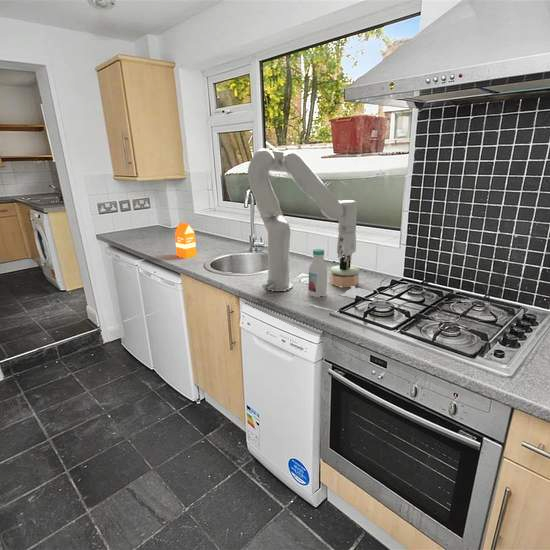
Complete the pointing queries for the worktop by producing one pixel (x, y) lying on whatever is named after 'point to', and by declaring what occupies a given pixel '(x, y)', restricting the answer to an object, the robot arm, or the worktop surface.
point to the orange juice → (185, 241)
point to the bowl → (344, 280)
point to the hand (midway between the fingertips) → (344, 268)
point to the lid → (348, 271)
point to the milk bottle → (317, 274)
